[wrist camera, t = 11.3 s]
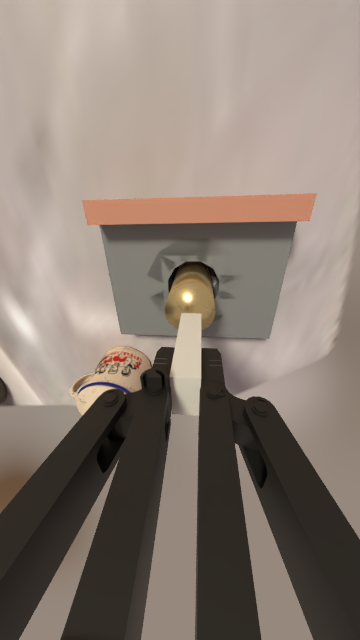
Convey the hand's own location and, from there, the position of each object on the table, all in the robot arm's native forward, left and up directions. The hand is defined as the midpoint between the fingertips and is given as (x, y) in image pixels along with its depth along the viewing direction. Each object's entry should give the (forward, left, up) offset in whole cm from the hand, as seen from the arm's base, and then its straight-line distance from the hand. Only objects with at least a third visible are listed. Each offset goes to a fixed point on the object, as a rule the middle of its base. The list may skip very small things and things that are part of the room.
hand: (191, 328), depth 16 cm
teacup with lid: (-13, -16, -13) cm, 24 cm away
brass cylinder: (0, 0, -13) cm, 13 cm away
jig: (0, 0, -13) cm, 13 cm away
